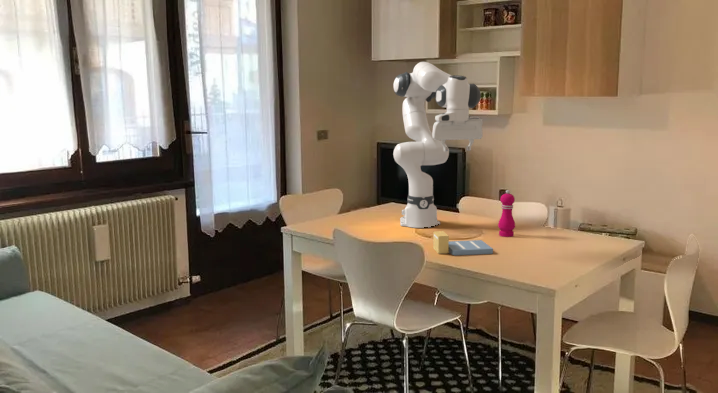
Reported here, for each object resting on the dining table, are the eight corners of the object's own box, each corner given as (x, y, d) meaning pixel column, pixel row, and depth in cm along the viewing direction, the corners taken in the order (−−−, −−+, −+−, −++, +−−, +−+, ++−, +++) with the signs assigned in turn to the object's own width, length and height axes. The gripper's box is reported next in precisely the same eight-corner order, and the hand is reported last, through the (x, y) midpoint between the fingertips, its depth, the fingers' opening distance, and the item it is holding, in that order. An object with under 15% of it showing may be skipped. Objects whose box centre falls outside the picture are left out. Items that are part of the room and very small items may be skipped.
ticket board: (441, 246, 270) (441, 241, 270) (481, 244, 272) (481, 239, 272) (451, 255, 256) (451, 250, 256) (492, 253, 259) (492, 248, 258)
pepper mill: (494, 234, 290) (496, 189, 287) (508, 232, 293) (510, 188, 289) (503, 237, 284) (505, 191, 280) (518, 236, 286) (519, 190, 282)
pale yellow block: (433, 248, 266) (433, 231, 265) (443, 248, 267) (443, 231, 266) (438, 253, 259) (438, 236, 257) (448, 253, 259) (448, 235, 258)
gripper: (480, 115, 270) (479, 149, 273) (431, 116, 268) (431, 150, 270) (485, 116, 264) (484, 150, 266) (435, 117, 262) (434, 152, 264)
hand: (457, 150), depth 268 cm, fingers open, 8 cm apart
